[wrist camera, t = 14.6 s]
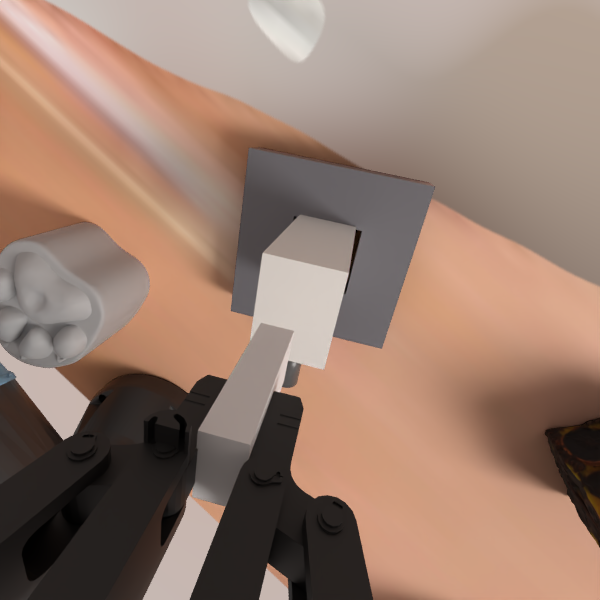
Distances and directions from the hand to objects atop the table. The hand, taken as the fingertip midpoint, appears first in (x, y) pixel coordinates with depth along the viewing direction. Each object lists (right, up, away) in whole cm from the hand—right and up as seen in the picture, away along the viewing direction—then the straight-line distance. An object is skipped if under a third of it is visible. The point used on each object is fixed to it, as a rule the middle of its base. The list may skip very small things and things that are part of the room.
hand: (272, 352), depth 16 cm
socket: (+3, +7, +16) cm, 18 cm away
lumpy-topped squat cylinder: (-21, +4, +22) cm, 31 cm away
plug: (+3, +6, +16) cm, 17 cm away
